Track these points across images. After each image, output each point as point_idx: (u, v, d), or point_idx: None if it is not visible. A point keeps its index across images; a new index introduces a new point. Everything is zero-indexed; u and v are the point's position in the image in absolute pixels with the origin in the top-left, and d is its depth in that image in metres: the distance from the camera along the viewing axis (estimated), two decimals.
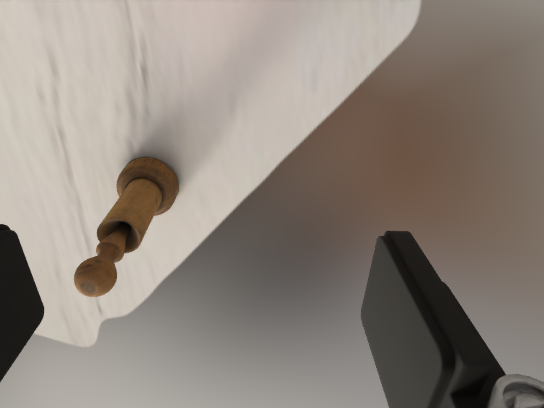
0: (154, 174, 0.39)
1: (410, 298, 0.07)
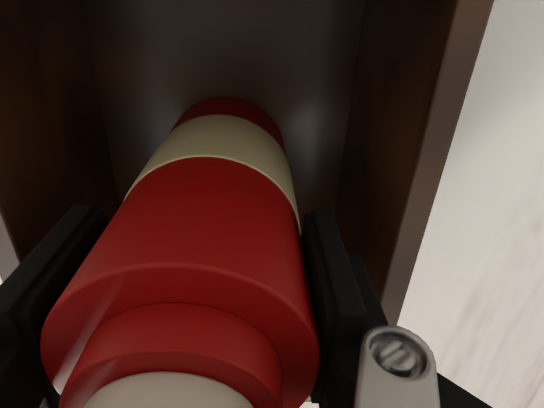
0: None
1: (315, 265, 0.08)
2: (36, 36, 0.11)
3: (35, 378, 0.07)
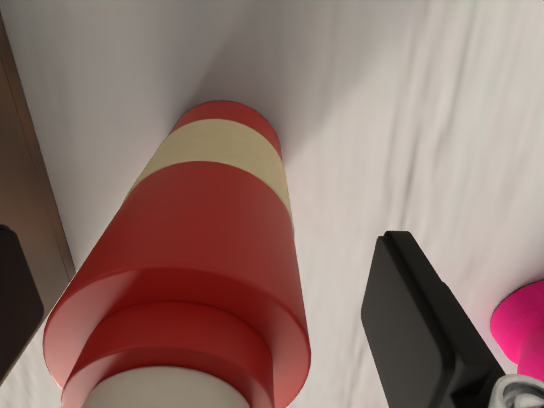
0: None
1: (410, 298, 0.07)
2: None
3: None
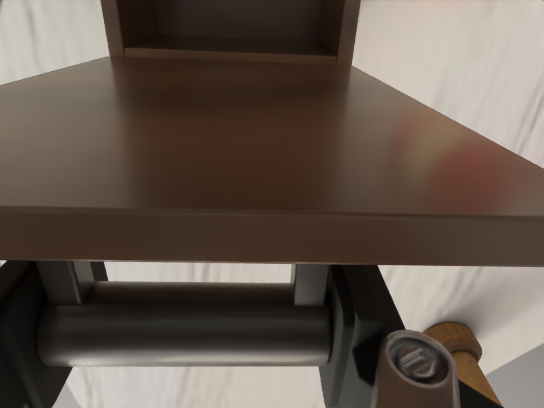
0: (473, 347, 0.39)
1: (330, 268, 0.08)
2: None
3: (16, 384, 0.07)
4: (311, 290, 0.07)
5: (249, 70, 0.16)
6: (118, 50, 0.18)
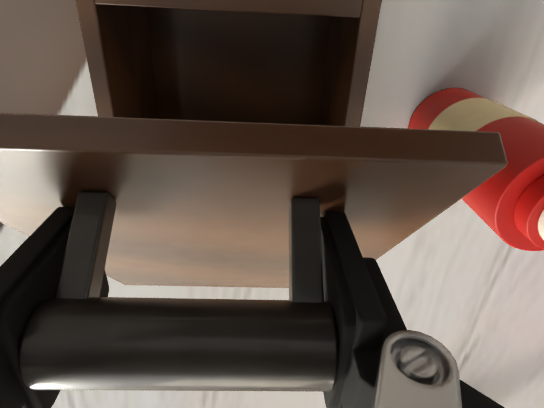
0: None
1: (331, 268, 0.08)
2: (130, 37, 0.19)
3: (14, 384, 0.07)
4: (308, 281, 0.08)
5: None
6: None
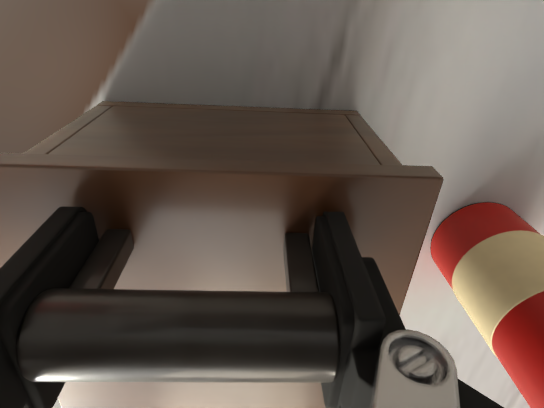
0: None
1: (330, 268, 0.08)
2: None
3: (16, 384, 0.07)
4: (304, 281, 0.09)
5: None
6: None
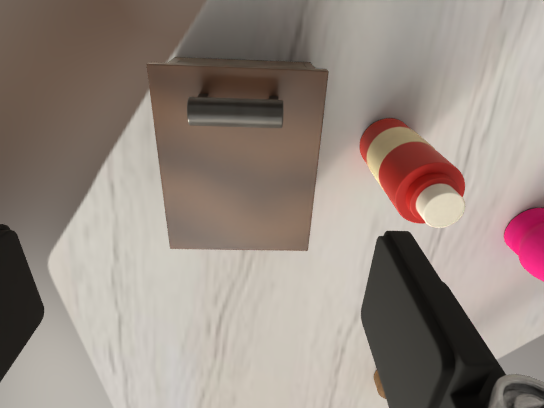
0: None
1: (410, 298, 0.07)
2: None
3: None
4: None
5: None
6: None
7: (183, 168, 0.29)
